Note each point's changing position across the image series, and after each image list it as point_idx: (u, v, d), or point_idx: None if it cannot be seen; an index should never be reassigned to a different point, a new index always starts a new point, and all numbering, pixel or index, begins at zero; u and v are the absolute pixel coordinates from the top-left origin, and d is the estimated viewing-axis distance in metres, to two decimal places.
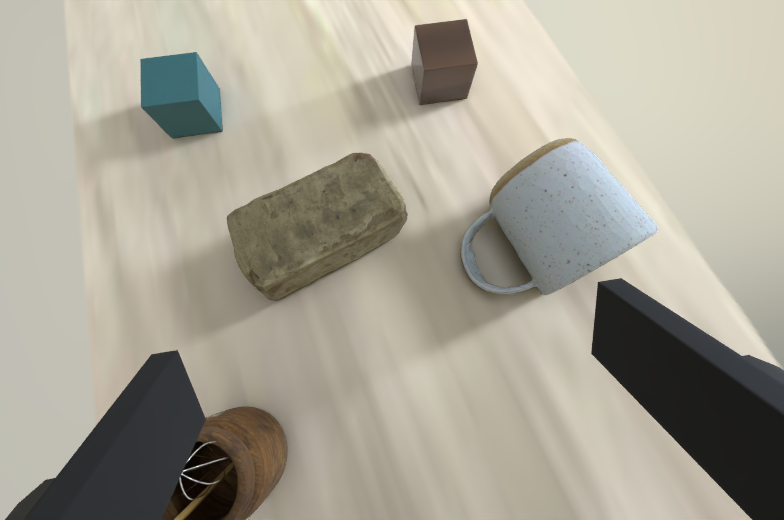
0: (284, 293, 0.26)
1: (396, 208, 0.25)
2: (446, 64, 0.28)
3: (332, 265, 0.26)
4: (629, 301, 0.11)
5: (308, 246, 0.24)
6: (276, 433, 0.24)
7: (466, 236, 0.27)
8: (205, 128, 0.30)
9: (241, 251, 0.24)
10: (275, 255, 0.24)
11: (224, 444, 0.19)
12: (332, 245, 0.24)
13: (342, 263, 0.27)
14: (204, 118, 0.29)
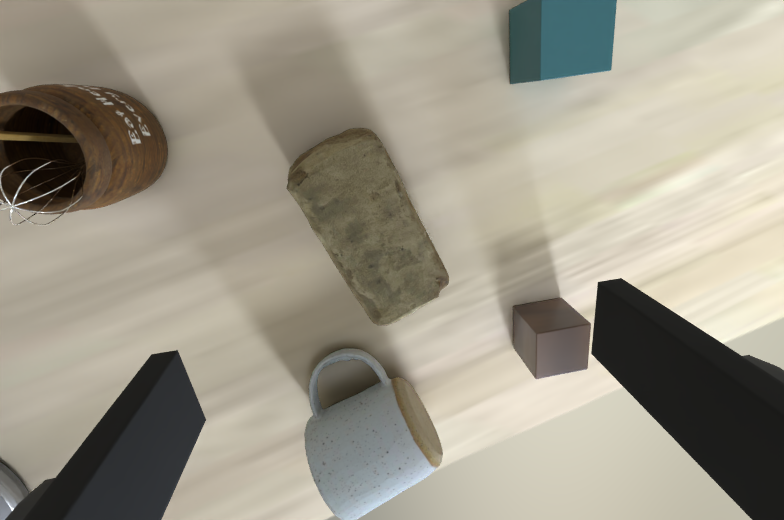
0: None
1: (381, 320, 0.24)
2: (539, 353, 0.27)
3: None
4: (629, 301, 0.11)
5: (336, 239, 0.21)
6: (137, 192, 0.22)
7: (363, 359, 0.28)
8: (514, 64, 0.23)
9: (330, 160, 0.20)
10: (325, 203, 0.21)
11: (88, 187, 0.17)
12: (339, 262, 0.22)
13: None
14: (523, 71, 0.22)
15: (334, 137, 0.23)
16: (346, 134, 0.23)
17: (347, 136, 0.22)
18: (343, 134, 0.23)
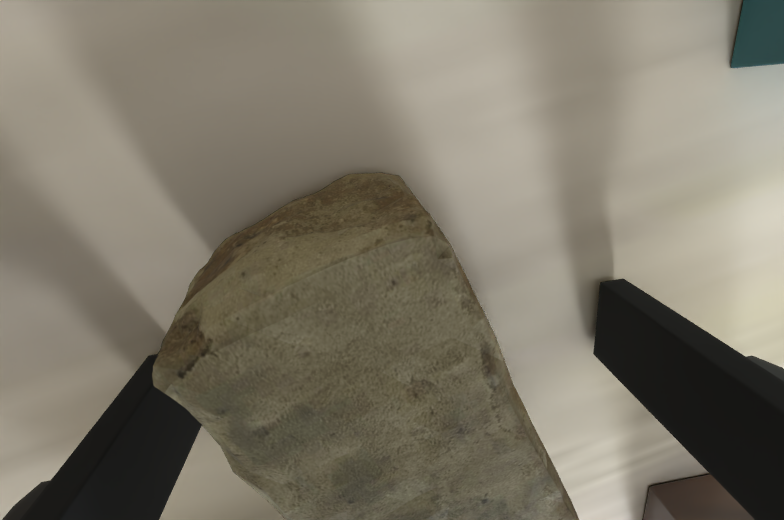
0: None
1: None
2: None
3: None
4: (631, 302, 0.11)
5: (307, 499, 0.08)
6: None
7: None
8: (764, 17, 0.09)
9: (283, 302, 0.06)
10: (270, 420, 0.07)
11: None
12: None
13: None
14: None
15: (308, 201, 0.09)
16: (339, 192, 0.09)
17: (342, 199, 0.08)
18: (332, 191, 0.09)
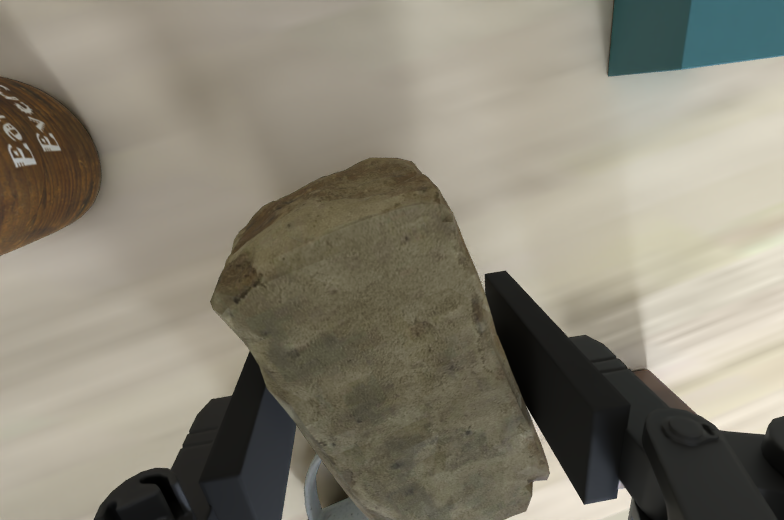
0: None
1: None
2: None
3: None
4: (501, 290, 0.12)
5: (323, 415, 0.09)
6: (50, 233, 0.15)
7: None
8: (620, 46, 0.15)
9: (319, 247, 0.08)
10: (302, 344, 0.09)
11: None
12: (327, 455, 0.10)
13: None
14: (639, 56, 0.14)
15: (336, 176, 0.10)
16: (362, 171, 0.11)
17: (365, 176, 0.10)
18: (356, 170, 0.11)
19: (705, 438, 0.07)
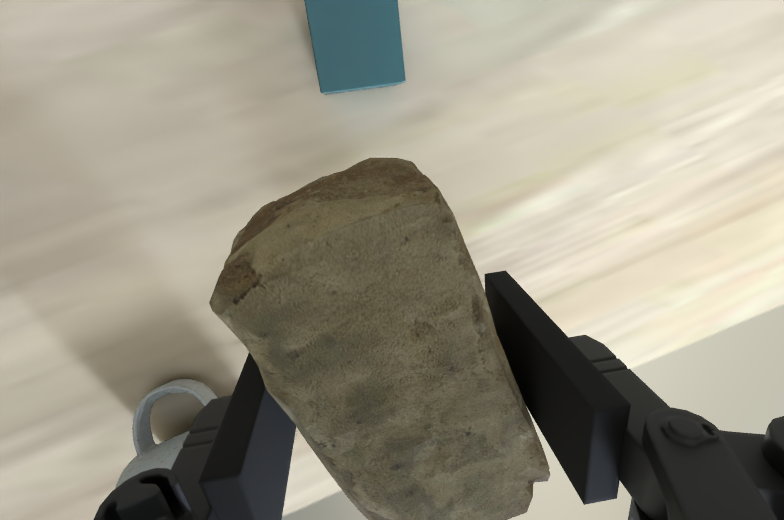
0: None
1: None
2: None
3: None
4: (501, 290, 0.12)
5: (324, 417, 0.09)
6: None
7: (191, 392, 0.26)
8: None
9: (319, 248, 0.08)
10: (301, 344, 0.09)
11: None
12: (327, 456, 0.10)
13: None
14: None
15: (336, 176, 0.10)
16: (362, 171, 0.11)
17: (365, 177, 0.10)
18: (356, 170, 0.11)
19: (705, 438, 0.07)
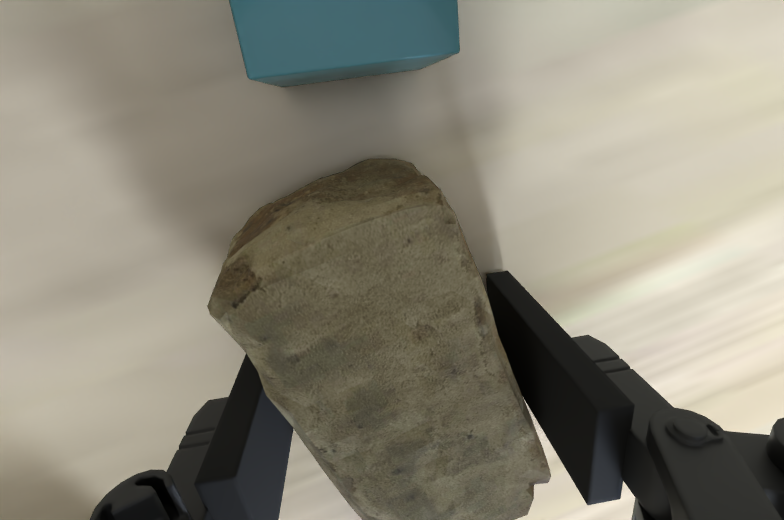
0: None
1: None
2: None
3: None
4: (503, 290, 0.12)
5: (324, 422, 0.09)
6: None
7: None
8: None
9: (321, 250, 0.08)
10: (302, 348, 0.08)
11: None
12: (327, 461, 0.10)
13: None
14: None
15: (335, 178, 0.10)
16: (362, 172, 0.10)
17: (364, 178, 0.10)
18: (355, 171, 0.10)
19: (710, 439, 0.07)
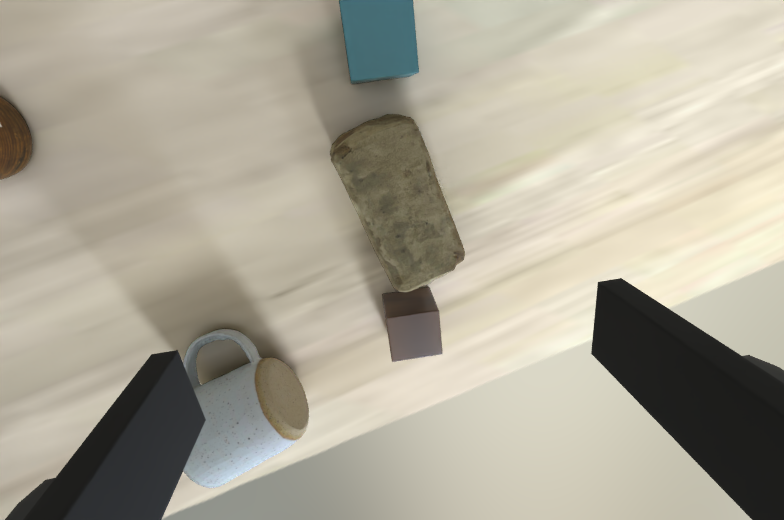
0: None
1: (401, 286, 0.27)
2: (391, 337, 0.29)
3: None
4: (629, 301, 0.11)
5: (370, 209, 0.24)
6: None
7: (233, 338, 0.31)
8: None
9: (372, 138, 0.23)
10: (364, 176, 0.24)
11: None
12: (370, 229, 0.25)
13: None
14: None
15: (374, 120, 0.25)
16: (384, 118, 0.26)
17: (385, 120, 0.25)
18: (382, 118, 0.26)
19: None
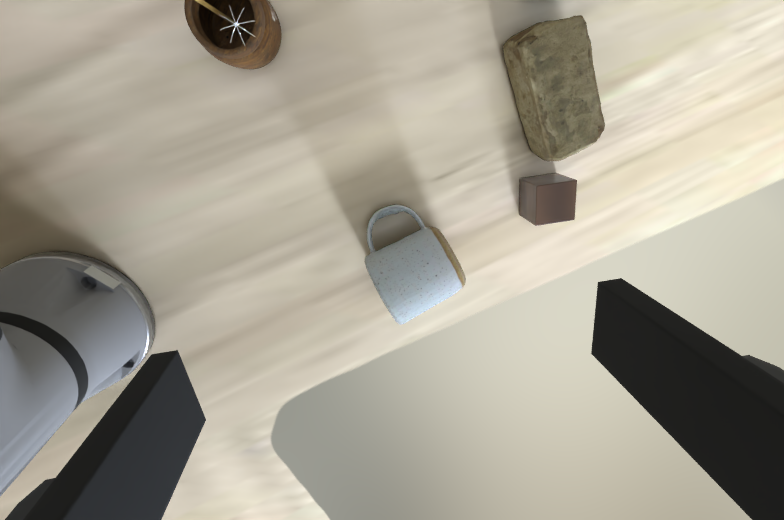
0: (508, 58, 0.34)
1: (556, 154, 0.35)
2: (538, 203, 0.37)
3: (522, 99, 0.35)
4: (629, 301, 0.11)
5: (544, 86, 0.32)
6: (263, 63, 0.32)
7: (408, 209, 0.38)
8: None
9: (553, 29, 0.31)
10: (543, 59, 0.32)
11: (254, 37, 0.27)
12: (541, 104, 0.33)
13: (520, 107, 0.36)
14: None
15: (541, 23, 0.33)
16: (547, 22, 0.34)
17: None
18: (545, 22, 0.34)
19: None
